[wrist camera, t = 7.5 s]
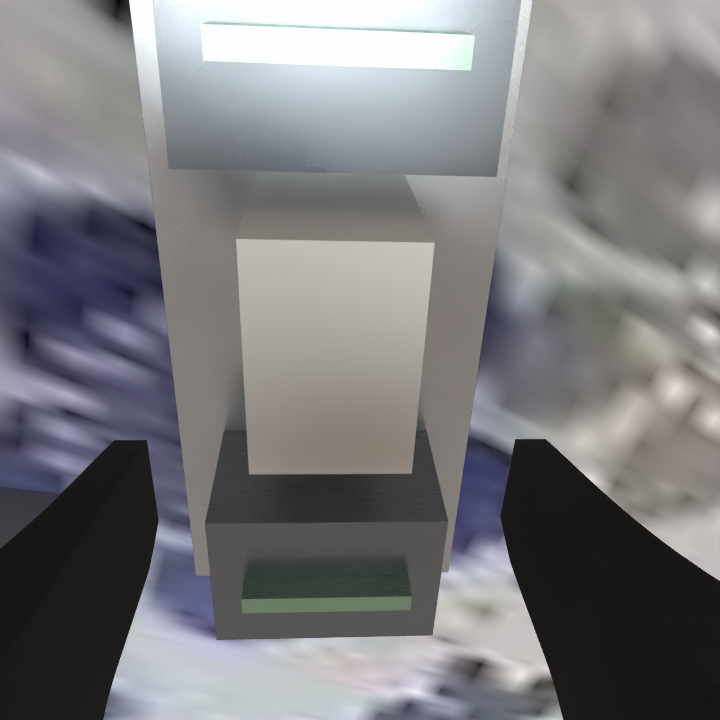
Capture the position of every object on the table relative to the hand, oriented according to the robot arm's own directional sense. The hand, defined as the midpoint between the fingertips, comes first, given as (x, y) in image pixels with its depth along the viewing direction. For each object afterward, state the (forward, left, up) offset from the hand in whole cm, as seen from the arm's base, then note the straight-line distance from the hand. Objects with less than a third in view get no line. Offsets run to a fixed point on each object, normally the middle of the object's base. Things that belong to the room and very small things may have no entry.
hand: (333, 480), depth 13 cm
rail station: (0, 0, -9) cm, 9 cm away
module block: (0, +1, -9) cm, 9 cm away
